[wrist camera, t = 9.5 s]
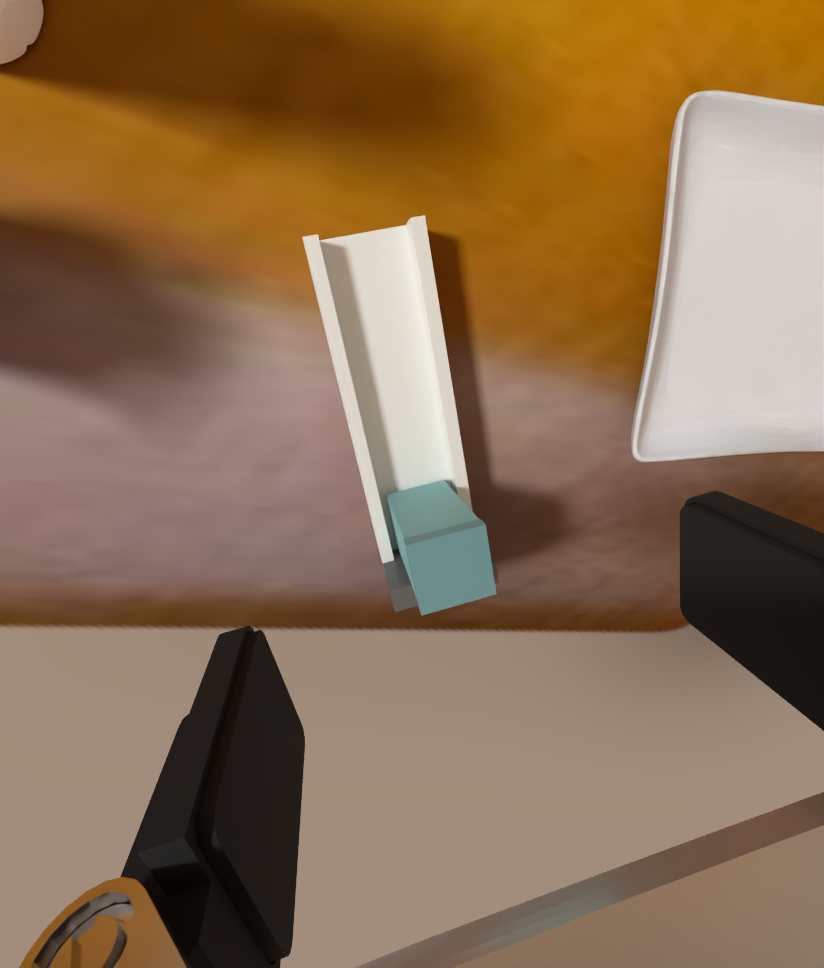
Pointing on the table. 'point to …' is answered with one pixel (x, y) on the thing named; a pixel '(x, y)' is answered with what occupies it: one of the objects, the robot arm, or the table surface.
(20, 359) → the table surface
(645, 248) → the table surface
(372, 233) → the channel
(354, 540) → the table surface
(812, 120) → the salad plate
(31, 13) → the water bottle
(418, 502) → the block
